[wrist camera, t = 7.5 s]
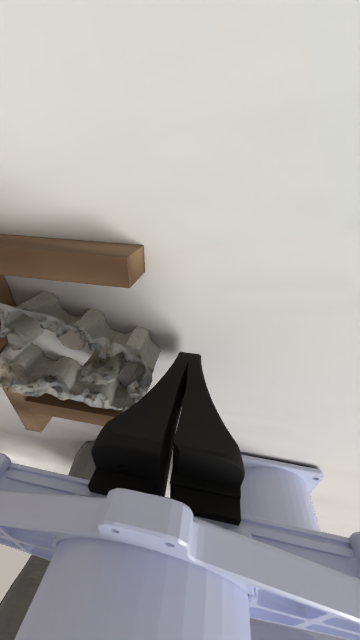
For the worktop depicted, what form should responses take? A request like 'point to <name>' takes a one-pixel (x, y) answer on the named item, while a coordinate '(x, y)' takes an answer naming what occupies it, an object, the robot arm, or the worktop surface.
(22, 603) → the coffeepot
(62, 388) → the egg carton
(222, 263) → the worktop surface
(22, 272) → the walnut bracket
